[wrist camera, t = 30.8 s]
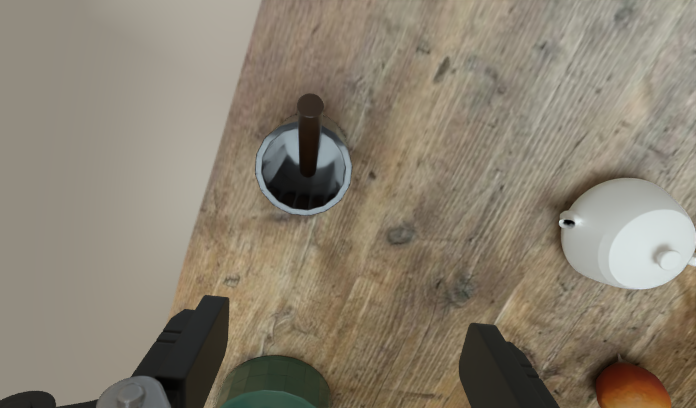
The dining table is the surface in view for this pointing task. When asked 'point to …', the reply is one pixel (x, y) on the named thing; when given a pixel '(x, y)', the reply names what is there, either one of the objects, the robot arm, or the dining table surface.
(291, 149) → the crock
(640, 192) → the teapot
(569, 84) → the dining table surface
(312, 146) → the stick
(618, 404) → the fruit
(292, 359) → the mixing bowl
